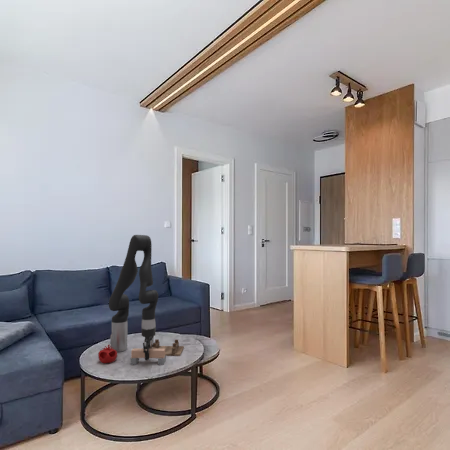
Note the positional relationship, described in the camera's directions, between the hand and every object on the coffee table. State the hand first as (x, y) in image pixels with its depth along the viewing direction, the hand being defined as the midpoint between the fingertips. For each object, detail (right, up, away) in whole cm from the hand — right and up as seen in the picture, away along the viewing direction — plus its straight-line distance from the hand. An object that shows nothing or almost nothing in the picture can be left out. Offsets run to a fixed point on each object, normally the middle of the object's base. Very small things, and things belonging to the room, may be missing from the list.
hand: (148, 357), depth 186 cm
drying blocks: (0, -3, 0) cm, 3 cm away
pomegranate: (-23, -3, +2) cm, 23 cm away
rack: (+6, -3, +17) cm, 18 cm away
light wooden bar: (0, 0, 0) cm, 0 cm away
